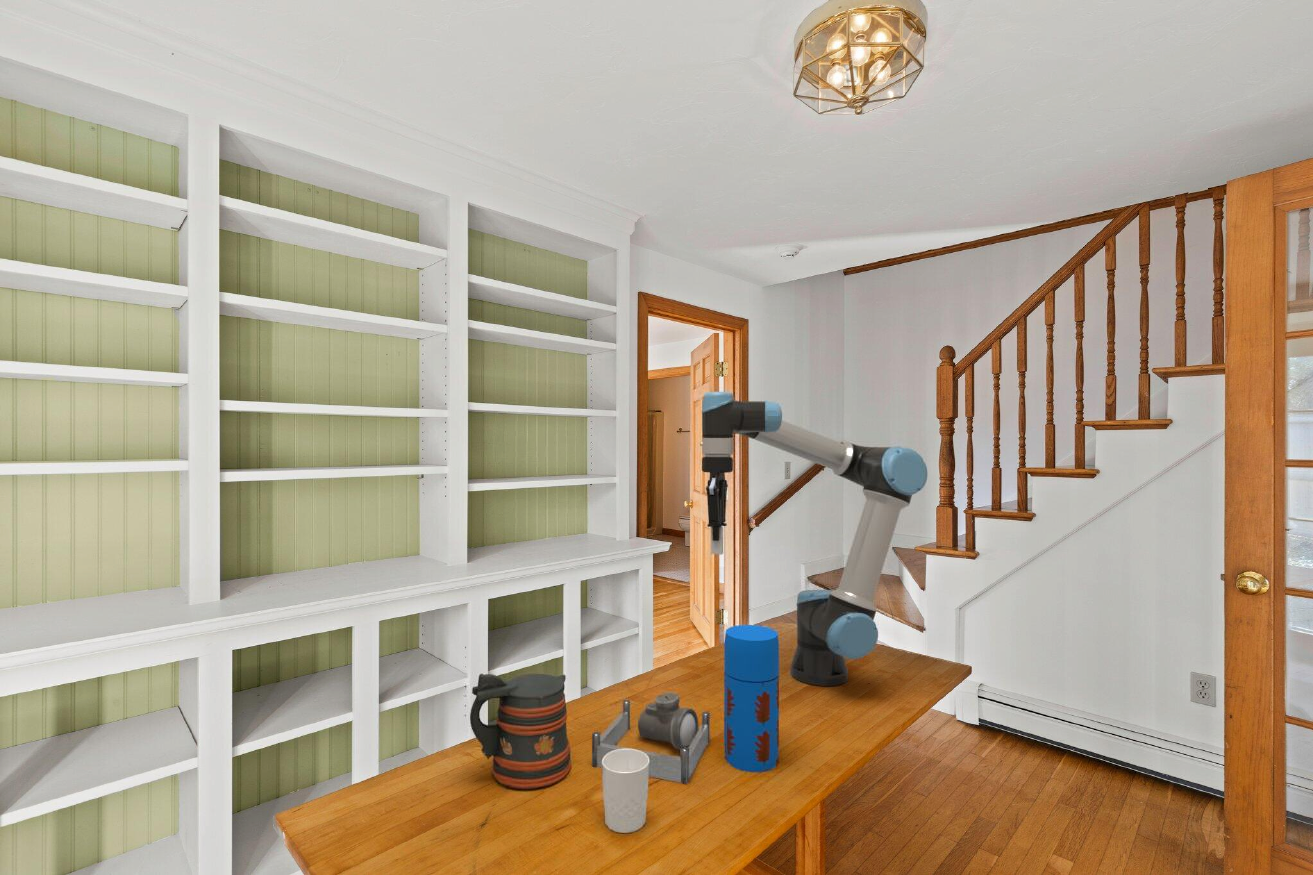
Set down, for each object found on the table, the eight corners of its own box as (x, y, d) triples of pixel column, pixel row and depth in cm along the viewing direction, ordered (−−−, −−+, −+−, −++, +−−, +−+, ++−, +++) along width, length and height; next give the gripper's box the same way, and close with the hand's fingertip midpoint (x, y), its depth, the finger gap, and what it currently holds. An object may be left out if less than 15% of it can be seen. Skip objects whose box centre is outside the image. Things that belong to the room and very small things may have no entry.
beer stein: (485, 809, 103) (486, 691, 104) (459, 771, 115) (460, 665, 116) (584, 775, 114) (584, 669, 114) (551, 744, 126) (551, 647, 127)
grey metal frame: (624, 726, 134) (624, 699, 134) (710, 740, 128) (710, 712, 128) (590, 765, 118) (590, 734, 118) (687, 784, 111) (687, 751, 111)
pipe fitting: (703, 740, 127) (696, 691, 127) (683, 759, 121) (676, 708, 121) (656, 731, 134) (650, 685, 134) (635, 749, 127) (628, 701, 127)
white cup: (601, 807, 104) (602, 749, 104) (647, 805, 105) (647, 747, 105) (601, 837, 96) (601, 773, 96) (650, 834, 97) (651, 771, 97)
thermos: (782, 750, 124) (782, 627, 125) (774, 776, 114) (775, 643, 114) (730, 741, 128) (730, 622, 128) (718, 766, 118) (718, 637, 118)
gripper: (708, 455, 154) (708, 548, 154) (695, 456, 142) (694, 557, 141) (738, 455, 151) (737, 550, 151) (726, 456, 139) (726, 559, 139)
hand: (717, 553), depth 146 cm, fingers closed
